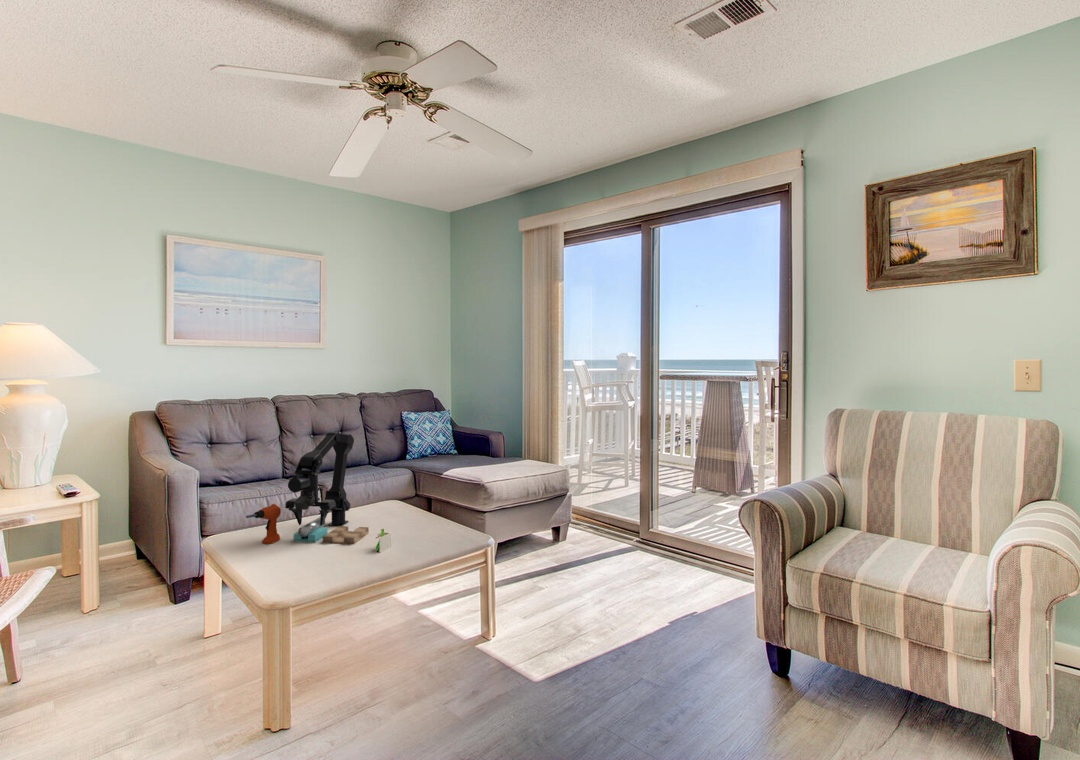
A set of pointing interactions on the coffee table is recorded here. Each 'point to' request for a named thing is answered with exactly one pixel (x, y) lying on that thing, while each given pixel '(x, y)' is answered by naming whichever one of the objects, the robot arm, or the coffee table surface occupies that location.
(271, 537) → the toy drill
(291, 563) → the coffee table surface
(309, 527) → the axle
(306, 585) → the coffee table surface
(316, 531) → the v block
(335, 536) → the wooden channel block
